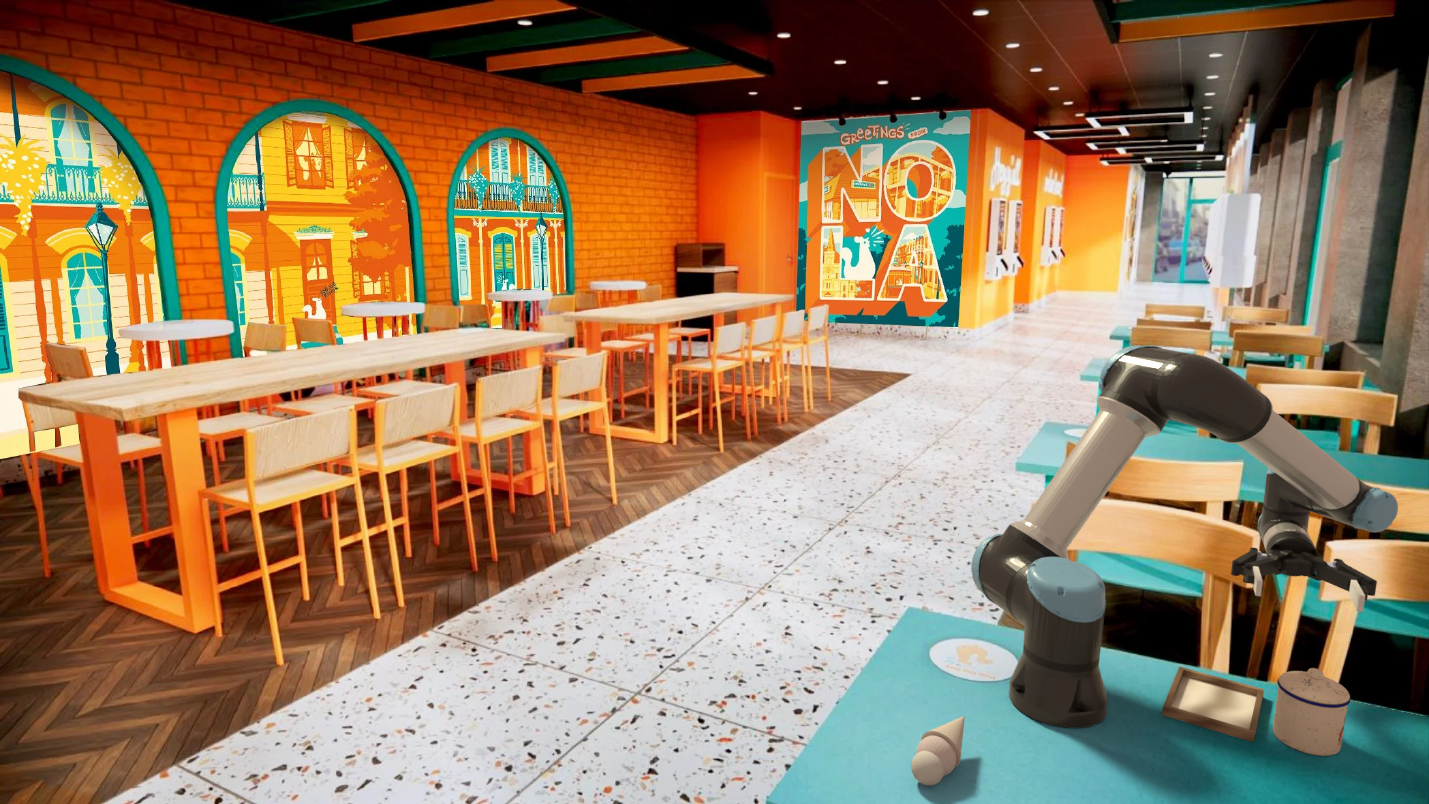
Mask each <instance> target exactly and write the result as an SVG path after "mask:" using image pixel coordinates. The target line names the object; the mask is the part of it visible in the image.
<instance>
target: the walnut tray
mask: <svg viewBox="0 0 1429 804" xmlns="http://www.w3.org/2000/svg"><path fill="white" fill-rule="evenodd" d="M1264 694H1265V689H1264V688H1261V687H1259V686H1258V687H1256V686H1253V685H1249V684H1246V683H1242V682H1238V681H1235V680H1231V679H1228V678H1224V677H1221V676H1217V675H1212V674H1209V673H1205V672H1201V671H1197V670H1194V669H1191V668H1186V667H1183V666H1179V667H1178V668H1177V671H1176V674H1175V676H1174V679H1173V681H1172V683H1171V686H1170V688H1169V691H1168V693H1167V695H1166V698H1165V701H1164V703H1163V705H1162V710H1161V712H1162V713H1161V715H1162V716H1165V717H1168V718H1171V719H1174V720H1177V721H1181V722H1185V723H1186V724H1187V723H1188V724H1191V725H1194V726H1197V727H1201V728H1204V729H1207V730H1211V731H1214V732H1217V733H1221V734H1224V735H1228V736H1231V737H1233V738H1237V739H1241V740H1244V741H1248V742H1251V743H1254V742H1255V737H1256V733H1257V727H1258V723H1259V719H1260V714H1261V709H1262V703H1263V699H1264Z"/></svg>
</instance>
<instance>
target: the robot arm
mask: <svg viewBox="0 0 1429 804" xmlns="http://www.w3.org/2000/svg"><path fill="white" fill-rule="evenodd" d="M1099 379H1100V382H1099V389H1100V392H1101V393H1100V394H1099V396H1098V397H1097V398H1096V401H1097V405H1098V410H1099V411H1098V413H1097V415H1096V416H1095V417H1094V419H1093V420H1092V421H1091V423H1090V424H1089V426H1087V429H1086V430H1085V432H1084V433H1083V434H1082V436H1081V437H1080V439H1079V440H1078V442H1077V443H1076V444H1075V445H1074V447H1073V449H1072V450H1071V452H1070V453H1069V455H1068V456H1067V457H1066V459H1064V462H1063V463H1062V464H1061V465H1060V467H1059V469H1058V470H1057V472H1056V473H1055V475H1054V476H1053V477H1052V479H1051V480H1050V481H1049V483H1048V484H1047V486H1046V487H1045V489H1044V490H1043V492H1042V493H1041V494H1040V496H1039V497H1038V499H1037V500H1036V501H1035V503H1034V504H1033V506H1032V507H1031V509H1030V510H1029V512H1028V513H1027V515H1026V516H1025V517H1024V518H1023V520H1020V521H1016V522H1010V524H1008V526H1007V527H1006V529H1005V531H1004V532H1003V533H997V534H994V535H993V536H987V537H986V538H984V539H983V540H982V541H981V542H980V543H979V544H978V546H977V547H976V549H975V550H974V554H973V556H972V559H971V565H970V567H971V568H970V569H971V576H972V581H973V582H974V584H975V586H976V588H977V589H978V591H980V592H981V593H982V594H983V595H984V596H985V598H986V599H987V600H988V601H990V602H991V603H993V604H994V605H996V606H998V607H999V608H1000V609H1002V610H1003V611H1004V612H1006V613H1007V614H1009V615H1010V616H1011V617H1013V619H1015V620H1016V621H1018V622H1019V623H1020V624H1022V625H1023V626H1024V630H1023V631H1024V632H1023V646H1022V654H1021V655H1020V658H1019V660H1018V663H1017V664H1016V665H1015V668H1014V670H1013V673H1012V675H1011V677H1010V680H1009V688H1008V697H1009V700H1010V701H1011V704H1012V705H1014V707H1015V708H1016V709H1017V710H1018V711H1020V712H1022V713H1023V714H1025V716H1027V717H1030V718H1031V719H1034V720H1037V721H1038V722H1041V723H1045V724H1048V725H1051V726H1056V727H1061V728H1072V729H1081V728H1088V727H1092V726H1095V725H1097V724H1100V723H1101V722H1102V721H1104V719H1106V717H1107V713H1108V712H1107V711H1108V704H1109V703H1108V701H1109V700H1108V694H1107V691H1106V688H1105V685H1104V679H1103V677H1102V673H1101V669H1100V658H1101V647H1102V638H1103V630H1104V620H1105V611H1106V606H1107V601H1106V586H1105V583H1104V580H1103V579H1102V577H1101V576H1100V575H1099V574H1098V573H1097V572H1096V571H1095V570H1094V569H1092V568H1091V567H1090V566H1087V565H1086V564H1083V562H1080V561H1077V560H1075V561H1072V560H1070V559H1069V555H1068V548H1069V547H1070V545H1071V544H1072V543H1073V541H1074V539H1076V537H1077V535H1078V534H1079V532H1080V531H1081V529H1082V528H1083V527H1084V525H1085V524H1086V522H1087V521H1088V520H1089V518H1090V516H1091V515H1092V514H1093V513H1094V511H1095V509H1096V508H1097V507H1098V505H1099V504H1100V502H1102V500H1103V498H1104V496H1105V495H1106V494H1107V492H1108V491H1109V490H1110V488H1111V487H1112V486H1113V484H1114V482H1115V481H1116V480H1117V478H1118V477H1119V475H1120V474H1121V473H1122V471H1123V470H1124V468H1125V467H1126V466H1127V463H1128V462H1129V461H1130V459H1131V458H1132V456H1133V455H1134V454H1135V453H1136V452H1137V450H1138V448H1139V446H1140V445H1141V444H1142V442H1143V441H1144V440H1145V439H1146V438H1148V437H1152V436H1157V435H1158V436H1159V435H1160V433H1162V431H1163V429H1164V428H1165V426H1166V425H1167V424H1168V421H1173V422H1176V423H1177V422H1178V423H1181V424H1185V425H1189V426H1192V427H1194V428H1195V427H1196V428H1197V429H1200V430H1204V431H1206V432H1208V433H1210V434H1212V435H1214V436H1216V437H1217V438H1218V439H1220V440H1221V441H1223V442H1225V443H1228V444H1237V445H1238V446H1239V447H1241V448H1242V449H1243V450H1245V451H1246V452H1247V453H1248V454H1250V455H1251V456H1252V457H1254V458H1255V459H1257V461H1259V462H1261V463H1262V464H1264V465H1265V466H1266V467H1267V470H1266V473H1265V475H1266V476H1265V486H1264V496H1263V504H1262V509H1261V510H1262V511H1261V514H1260V516H1259V518H1258V521H1257V532H1258V535H1259V537H1260V538H1261V540H1262V543H1263V546H1264V549H1265V552H1266V553H1262V551H1260V550H1259V549H1258V548H1256V547H1249V551H1248V552H1246V553H1244V554H1241V556H1238V557H1237V558H1235V559H1234V560H1232V561H1231V569H1230V571H1231V572H1230V575H1231V576H1234V577H1240V575H1241V576H1243V577H1242V582H1243V583H1244V584H1250V585H1252V588H1253V591H1254V596H1256V597H1262V589H1263V583H1264V581H1263V577H1265V576H1268V575H1269V576H1270V575H1274V576H1278V575H1285V576H1287V577H1308V578H1309V579H1312V580H1315V581H1317V582H1321V581H1324V582H1326V583H1328V584H1329V585H1330V584H1331V585H1332V586H1334V587H1335V586H1336V587H1337V588H1340V589H1341V590H1344V591H1346V592H1348V596H1349V598H1350V601H1351V602H1352V604H1353V606H1354V608H1355V610H1356V611H1357V612H1360V613H1361V612H1362V613H1363V612H1364V607H1365V602H1366V601H1367V600H1368V596H1372V597H1375V596H1376V591H1377V585H1378V580H1376V579H1374V578H1372V577H1371V576H1369V575H1367V574H1365V573H1363V572H1362V571H1359V570H1357V569H1355V568H1354V567H1352V566H1350V565H1349V564H1346V563H1345V562H1344V560H1343V559H1340V558H1334V559H1333V561H1331V562H1329V561H1325V560H1324V559H1322V558H1321V557H1320V556H1319V552H1318V551H1317V549H1316V547H1315V544H1314V542H1313V539H1312V538H1311V536H1310V534H1309V532H1308V529H1309V522H1310V515H1311V513H1312V514H1313V513H1314V514H1316V515H1319V516H1323V517H1325V518H1327V519H1331V520H1333V521H1336V522H1339V523H1341V524H1345V525H1347V526H1351V527H1353V528H1354V529H1355V530H1356V529H1357V530H1358V529H1360V530H1364V531H1367V532H1370V533H1378V532H1379V533H1381V532H1383V531H1385V530H1387V529H1388V528H1389V527H1391V525H1392V524H1393V522H1394V520H1395V519H1396V517H1397V515H1398V512H1399V504H1398V501H1397V499H1396V497H1395V495H1393V494H1392V492H1389V491H1386V490H1383V489H1381V488H1380V487H1373V486H1371V485H1368V484H1367V483H1365V482H1363V481H1362V480H1361V479H1359V478H1358V477H1357V476H1355V475H1354V474H1353V473H1351V471H1349V470H1348V469H1347V468H1345V467H1344V466H1343V465H1341V464H1340V463H1339V462H1338V461H1336V459H1334V458H1333V457H1332V456H1330V455H1329V454H1328V453H1327V452H1326V451H1324V450H1323V449H1321V448H1320V447H1319V446H1318V445H1317V444H1316V443H1314V442H1313V441H1312V440H1310V439H1309V438H1308V437H1307V436H1306V435H1305V434H1303V433H1302V432H1301V431H1299V430H1298V429H1297V428H1295V427H1294V426H1293V425H1292V424H1291V423H1289V422H1288V421H1287V420H1285V418H1283V417H1282V416H1281V415H1279V414H1278V413H1277V412H1275V410H1274V408H1273V403H1272V402H1271V400H1270V399H1269V398H1268V396H1267V395H1265V394H1264V393H1263V392H1261V391H1260V390H1259V389H1258V388H1257V387H1255V386H1254V385H1252V384H1251V383H1250V382H1249V381H1247V380H1246V379H1245V378H1243V377H1242V376H1241V375H1239V374H1238V373H1236V372H1235V371H1233V370H1232V369H1230V368H1229V367H1227V366H1226V365H1224V364H1222V363H1221V362H1219V361H1217V360H1215V359H1214V358H1210V357H1208V356H1205V355H1200V354H1196V353H1187V352H1182V351H1178V350H1172V349H1166V348H1163V347H1160V346H1155V345H1138V344H1137V345H1131V346H1127V347H1123V348H1122V349H1119V350H1118V351H1116V352H1115V353H1114V354H1112V355H1111V356H1110V357H1109V358H1108V359H1107V361H1106V362H1105V363H1104V366H1103V367H1102V369H1101V371H1100V375H1099Z"/></svg>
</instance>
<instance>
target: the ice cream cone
mask: <svg viewBox="0 0 1429 804" xmlns="http://www.w3.org/2000/svg"><path fill="white" fill-rule="evenodd" d="M965 716H966V715H963V716H960V717H959V718H957V719H953V720H952V721H950V722H949V721H948V722H947V723H945V724H942V725H940V726H937V727H935V728H933V729H930V730H929V731H927V732H925V733H924V734H922V736H921V740H920V742H919V743H918V745H917V748H916V751H915V752H916V753H915V754H916V755H914V756H913V758H912V759H911V760H912V761H911V764H910V766H911V773H912V775H913V777H914V779H915V780H917V782H919V783H920V784H922V785H924V786H935V785H937V784H939V783H940V782H941V781H942V779H943V777H945V776H947V775H949V774H950V773H951V772H952V771H953V770H954V768H957V767H958V766H959V764H960V763H961V760H962V759H961V758H962V748H963V747H962V746H963V738H964V729H965V728H964V726H965V719H966V717H965Z"/></svg>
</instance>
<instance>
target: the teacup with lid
mask: <svg viewBox="0 0 1429 804" xmlns="http://www.w3.org/2000/svg"><path fill="white" fill-rule="evenodd" d="M1276 681H1277V686H1278V687H1277V695H1276V702H1275V707H1274V708H1275V709H1274V716H1273V724H1272V732H1273V734H1274V736H1275V737H1276V739H1278V740H1279V741H1280V742H1282V743H1283V744H1284V745H1286V746H1288V747H1290V748H1291V749H1294V750H1296V751H1299V752H1302V753H1305V754H1309V755H1314V756H1320V757H1328V756H1333V755H1336V754H1338V753H1339V752H1340V751H1341V749H1342V745H1343V744H1342V743H1343V736H1344V732H1345V731H1344V730H1345V724H1346V716H1347V711H1348V706H1349V704H1350V702H1351V701H1352V700H1351V699H1352V698H1351V695H1350V693H1349V691H1348V690H1347V689H1346V688H1345V687H1344V686H1343V685H1342V684H1340V683H1339V682H1337V681H1336V680H1333V679H1332V678H1329V677H1326V676H1325V673H1324V671H1322V670H1320V669H1318V668H1314V667H1311V668H1309V669H1308V670H1307V671H1302V670H1300V671H1299V670H1291V671H1287V672H1283V673H1282V674H1281V675H1279V676H1278V678H1277V680H1276Z"/></svg>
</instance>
